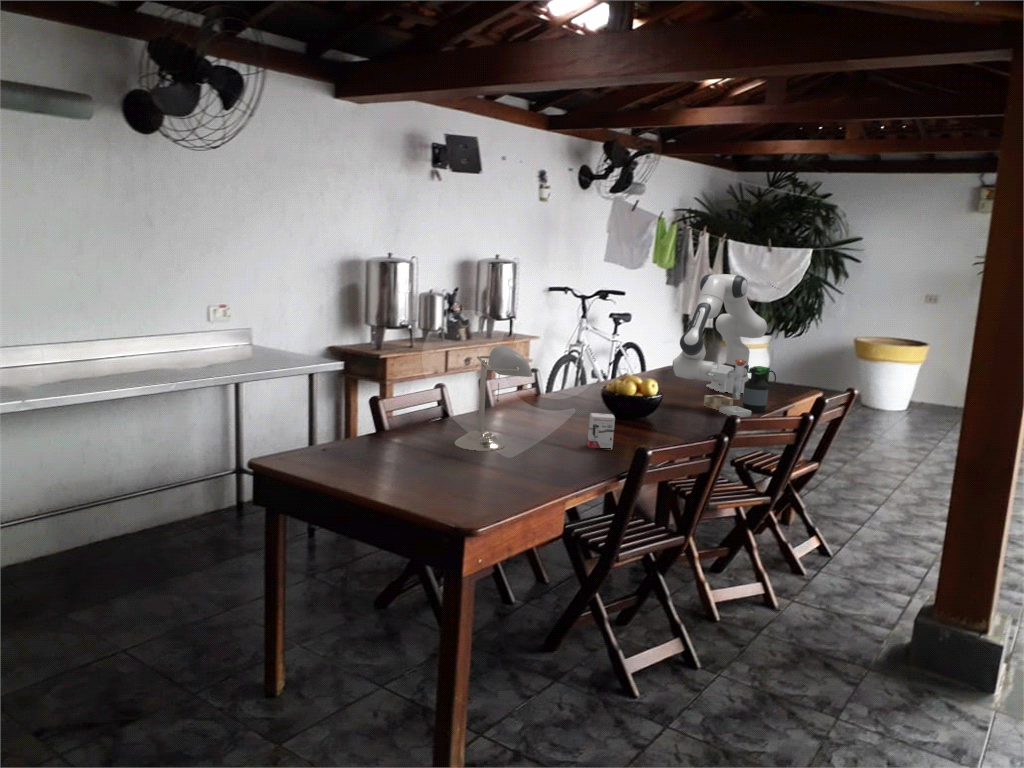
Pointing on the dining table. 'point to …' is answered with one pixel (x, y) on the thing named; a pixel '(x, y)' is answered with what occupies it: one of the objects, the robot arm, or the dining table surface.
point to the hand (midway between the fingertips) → (741, 375)
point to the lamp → (505, 365)
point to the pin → (738, 379)
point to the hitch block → (717, 401)
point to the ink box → (601, 430)
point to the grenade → (757, 389)
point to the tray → (735, 411)
